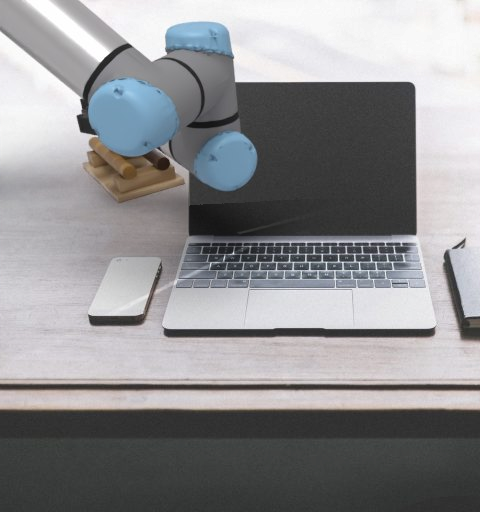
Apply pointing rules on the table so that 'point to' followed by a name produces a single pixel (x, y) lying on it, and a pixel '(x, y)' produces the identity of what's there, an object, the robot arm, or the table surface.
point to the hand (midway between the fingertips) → (125, 98)
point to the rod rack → (130, 172)
